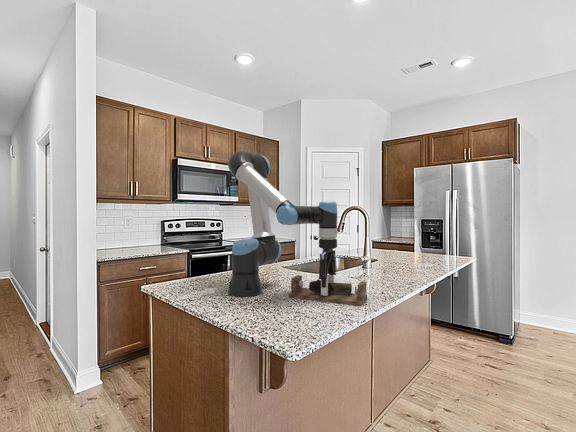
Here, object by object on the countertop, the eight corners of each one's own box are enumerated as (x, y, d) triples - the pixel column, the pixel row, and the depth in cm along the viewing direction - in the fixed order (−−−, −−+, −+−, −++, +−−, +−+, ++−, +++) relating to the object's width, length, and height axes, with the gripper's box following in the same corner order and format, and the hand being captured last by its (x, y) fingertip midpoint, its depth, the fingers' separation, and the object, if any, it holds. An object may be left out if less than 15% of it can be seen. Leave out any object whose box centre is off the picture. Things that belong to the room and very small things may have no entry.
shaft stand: (288, 297, 136) (288, 279, 136) (299, 290, 147) (299, 274, 147) (361, 306, 124) (361, 286, 124) (367, 298, 135) (367, 280, 134)
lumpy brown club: (350, 292, 138) (351, 279, 138) (352, 296, 131) (352, 282, 131) (309, 290, 140) (309, 277, 140) (308, 295, 133) (308, 281, 133)
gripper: (329, 241, 124) (328, 300, 124) (343, 236, 143) (342, 288, 143) (310, 240, 127) (310, 297, 128) (327, 236, 146) (326, 286, 147)
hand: (327, 292), depth 135 cm, fingers closed on lumpy brown club, 8 cm apart
